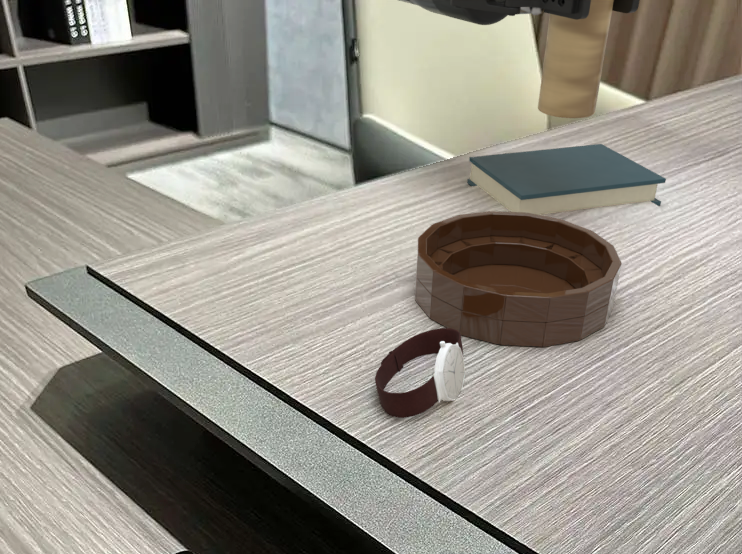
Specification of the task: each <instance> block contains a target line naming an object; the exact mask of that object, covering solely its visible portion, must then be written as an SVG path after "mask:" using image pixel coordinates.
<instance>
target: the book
mask: <svg viewBox="0 0 742 554" xmlns="http://www.w3.org/2000/svg"><path fill="white" fill-rule="evenodd" d="M468 162H469V163H471V164H470V175H469V178H467V179H466V180H467V181H466V183H467V184H468V185H469V186H470V187H479V188H480V189H481V190H483V191H484V192H485V193H486V194H488V195H489V196H490V197H491V198H492V199H494V200H495V201H496V202H498V203H499V204H500V205H502V206H503V207H504V208H506V209H507V210H508V212H525V213H531V214H537V215H542V216H543V215H548V214H549V215H550V214H557V213H565V212H572V211H580V210H588V209H589V210H590V209H597V208H604V207H612V206H620V205H628V204H636V203H644V202H651V203H652V204H654V205H656V206H658V207H660V206H661V203H662V201H661V200H660V199H658V198H656V195H657V189H658V185H659V184H665V183H666V181H667V178H665V177H664V176H662V175H660V174H658V173H656V172H654V171H653V170H651V169H650V168H647V167H645V166H644V165H641V164H640V163H638V162H636V161H634V160H632V159H630V158H629V157H627V156H625V155H624V154H621V153H619V152H617V151H616V150H614V149H612V148H610V147H608V146H606V145H604V144H602V143H595V144H586V145H576V146H575V145H574V146H567V147H557V148H546V149H537V150H536V149H535V150H526V151H518V152H507V153H497V154H487V155H477V156H469V158H468Z"/></svg>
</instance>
